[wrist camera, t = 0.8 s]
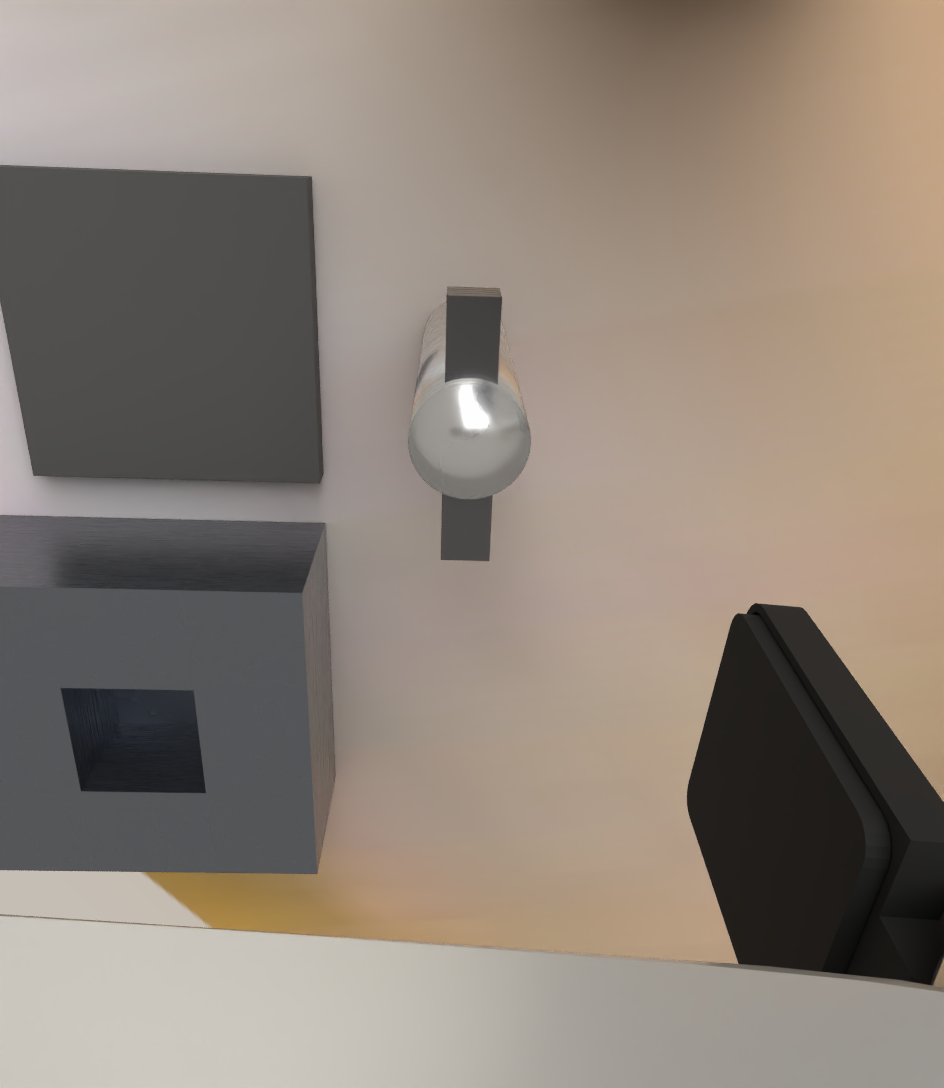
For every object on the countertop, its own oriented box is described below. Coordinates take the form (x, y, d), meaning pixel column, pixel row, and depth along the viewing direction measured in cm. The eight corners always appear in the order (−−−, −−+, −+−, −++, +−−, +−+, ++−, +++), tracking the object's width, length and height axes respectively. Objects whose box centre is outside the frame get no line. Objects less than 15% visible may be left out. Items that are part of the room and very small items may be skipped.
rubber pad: (311, 176, 28) (306, 178, 27) (323, 473, 32) (319, 482, 31) (-10, 164, 27) (-26, 165, 26) (45, 465, 32) (33, 475, 31)
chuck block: (325, 523, 33) (302, 593, 28) (335, 776, 38) (317, 873, 33) (0, 515, 32) (-83, 584, 27) (54, 772, 37) (-7, 869, 32)
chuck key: (510, 243, 29) (540, 301, 19) (500, 430, 31) (522, 568, 21) (424, 240, 28) (408, 297, 19) (422, 428, 31) (407, 566, 21)
